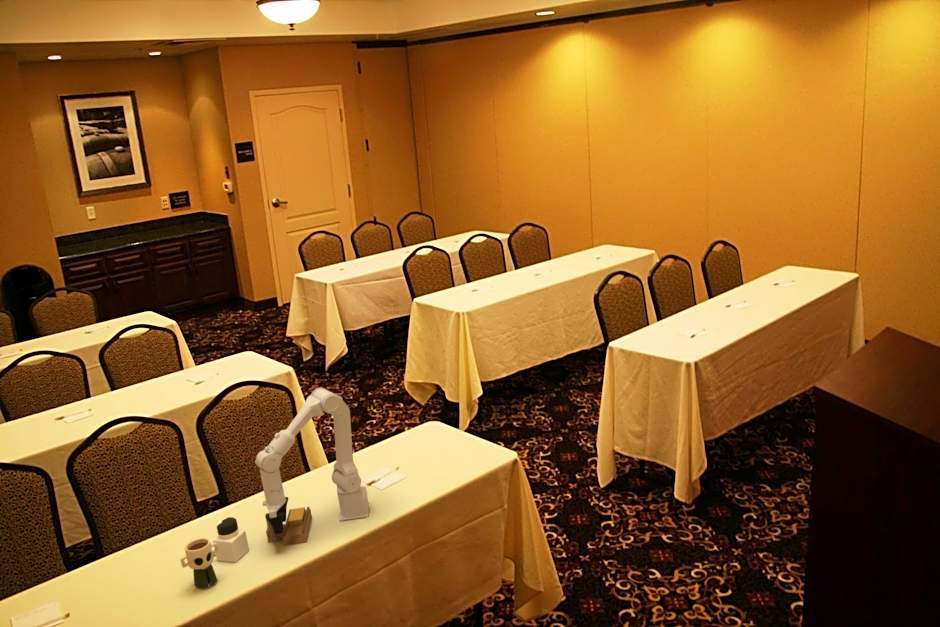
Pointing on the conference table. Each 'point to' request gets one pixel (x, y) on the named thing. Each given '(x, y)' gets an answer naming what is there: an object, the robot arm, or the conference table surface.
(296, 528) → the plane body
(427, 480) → the conference table surface
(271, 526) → the lever
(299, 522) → the wooden block
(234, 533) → the medicine bottle
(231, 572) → the conference table surface
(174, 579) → the conference table surface
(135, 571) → the conference table surface
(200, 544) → the character mug
